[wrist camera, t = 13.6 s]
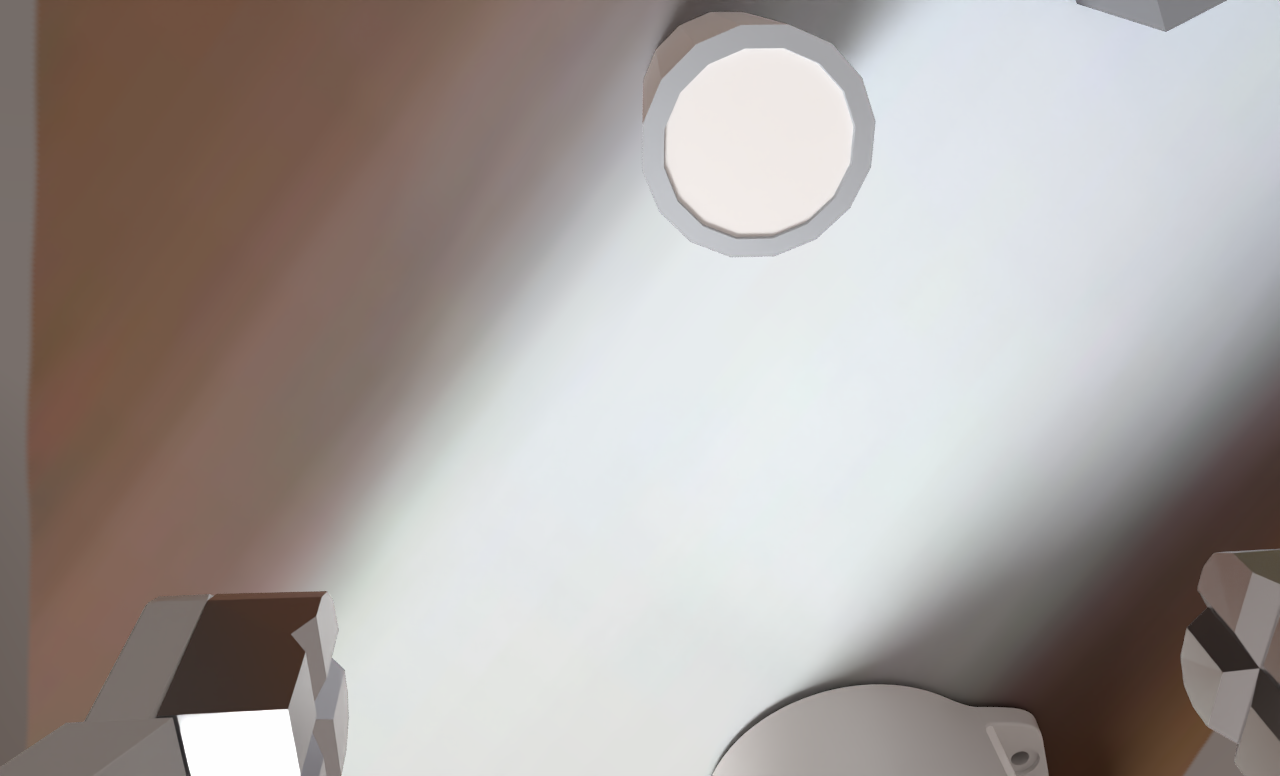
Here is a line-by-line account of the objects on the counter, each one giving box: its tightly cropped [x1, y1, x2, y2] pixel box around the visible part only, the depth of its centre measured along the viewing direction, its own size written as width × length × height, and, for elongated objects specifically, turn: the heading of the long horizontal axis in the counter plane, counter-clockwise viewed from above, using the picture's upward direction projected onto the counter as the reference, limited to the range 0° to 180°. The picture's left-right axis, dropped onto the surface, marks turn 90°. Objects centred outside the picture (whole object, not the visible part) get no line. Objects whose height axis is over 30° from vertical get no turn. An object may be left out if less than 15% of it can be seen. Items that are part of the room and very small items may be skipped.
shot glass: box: [642, 12, 875, 257], centre depth 35 cm, size 7×7×7 cm
